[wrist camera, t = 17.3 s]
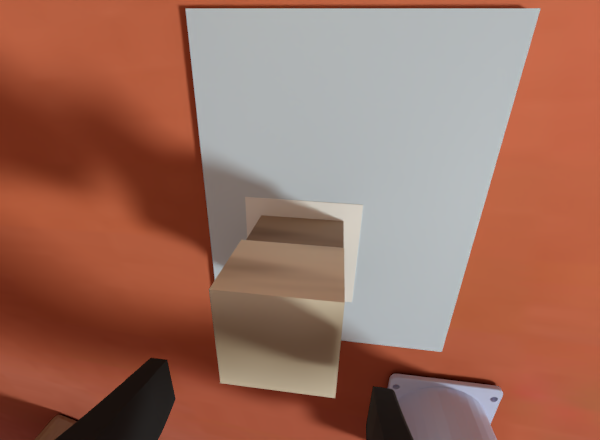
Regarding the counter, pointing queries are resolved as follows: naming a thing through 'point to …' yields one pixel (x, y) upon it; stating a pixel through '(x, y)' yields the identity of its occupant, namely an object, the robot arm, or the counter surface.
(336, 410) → the counter surface
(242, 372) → the maple block
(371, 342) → the board
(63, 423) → the wooden block
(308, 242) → the walnut block
